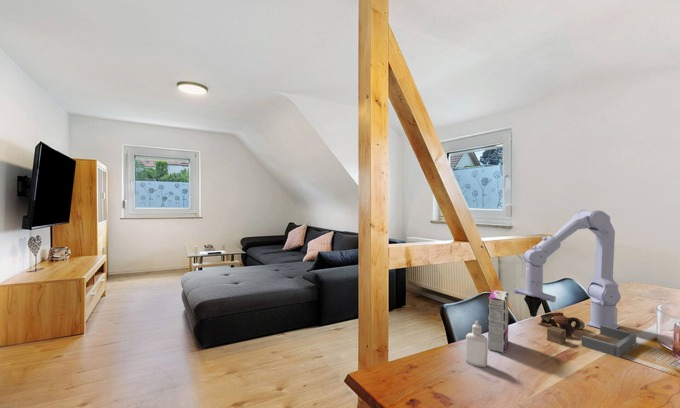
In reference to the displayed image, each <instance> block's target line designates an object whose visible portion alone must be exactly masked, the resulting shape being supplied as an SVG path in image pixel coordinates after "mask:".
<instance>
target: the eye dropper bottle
mask: <svg viewBox="0 0 680 408" xmlns="http://www.w3.org/2000/svg"><path fill="white" fill-rule="evenodd" d="M471 329H472V330H471V332H468V333H467V334H466V335H465V359H464V360H465V363H467V364H469V365H472V366H476V367H481V368H485V367H487V365H488V338H487V336H485V335H484V334H482V329H483V328H482V326H481V325H480V323H479V320H475V322H474V324H472V326H471Z"/></svg>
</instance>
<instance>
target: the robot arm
mask: <svg viewBox="0 0 680 408" xmlns="http://www.w3.org/2000/svg"><path fill="white" fill-rule="evenodd" d="M584 229H585V230H586V229H587V230H589V231H591V232H592V233H593V234H594V235H595V248H594V249H595V252H594V253H595V254H594V275H593V276H592V277H591V278H590V279H589V284H588V285H587V288H586V292H587V294H588V296H589V297H590V320H589V321H588V322H587V323H585V325H586V326H590V327H594V328H597V329H600V326H601V325H603V326H607V327H611V328H615V329H619V328H620V327H621V325H620V324H618V308H617V304H618V303H620V301H621V297H622V296H621V293H620V291H619V285H618V283H617V282H616V281H615V280H614V260H615V258H614V256H615V239H616V238H615V237H616V236H615V235H616V231H615V228H614V226H613V224H612V223H611V216H610V215H608V214H607V213H606V212H604V211H603V210H599V209H598V210H587V209H582V210H580V211H577V213H576V214H574V215H572V216H571V218H570V219H569V220H568V221H567V222H566V223H565V224H564V225H563V226H562V227H561V228H560V229H559V230H558V231H556V232H555V233H554V234H553V235H547V236H543V237H542V238H541V241H540V242H538V243H537V244H536V245H533V246H532V249H528V250H526V251H525V252H524V254H523V256H522V259H523V261H524V262H525V286H524V287H525V288H518V287H515V288H514V287H513V294H516V295H523V296H524V297H523V300H524V301H525V303H526V306H527V308H528V312H529V316H530V317H532V318H536V317H537V315H538V313H539V312H538V311H539V309H540V307H541V305H542V303H543V302H544V301H548V302H551V303H556V301H557V300H556V299H557V297H556V296H555V295H552V294H548V293H544V291H543V290H544V289H543V288H544V287H543V283H544V280H543V279H544V276H543V275H544V265H545V264H546V263H547V260H548V258H549V257H550V256H551V255H553V254H554V253H556V251H558V250H559V249H561V243H562V242H564V240H566V239H567V238H568V237H570V236H571V235H573V234H574V233H576V232H577V231H578V230H584Z"/></svg>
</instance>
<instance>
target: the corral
mask: <svg viewBox="0 0 680 408" xmlns="http://www.w3.org/2000/svg"><path fill="white" fill-rule="evenodd" d="M599 329H600V330H599V333H600V335H602V336H605V337H609V338H613V339H617V340H619V341H618V342H617V343H615V344H614V343H610V342H607V341H603V340H601V339H596V338H592V337H589V336H586V335H582V336H581V346H582V347H585V348H588V349H591V350H595V351H597V352H601V353H603V354H607V355H611V356H614V357H617V358H619V357H620V356H623V354H625V351H626V352H627V351H628V350H629V349H631V348H632V347H633V346H634V345H636V344H637V333H635V332H631V331H627V330H622V329H619V328H617V329H615V328H611V327H607V326H603V325H601V326H600V328H599ZM631 346H632V347H631ZM630 347H631V348H630Z"/></svg>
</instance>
